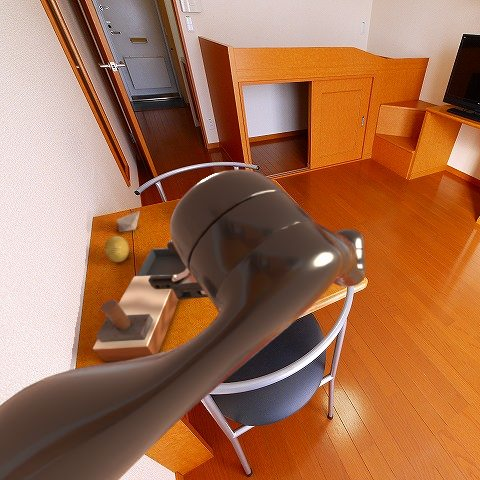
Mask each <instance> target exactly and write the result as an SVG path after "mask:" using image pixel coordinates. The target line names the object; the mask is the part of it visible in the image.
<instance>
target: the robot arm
mask: <svg viewBox="0 0 480 480" xmlns="http://www.w3.org/2000/svg"><path fill="white" fill-rule="evenodd" d="M169 223H170V224H169V234H170V239H171V240H169V241H168V242H167V244H166V248H168V249H169V251H170V252H177V253H178V254H179V256H180V258H181V260H182V262H183V263H184V265H185V266H186V269H185V271H184V272H182V273H180V274H178V275H176V276H173V275H159V276H150V278H149V280H148V281H149V283H150V285H151V286H152V287H153V288H154V289H173V291H174V293H175V295H176V297H177V299H179V300H178V301H181V300H190V299H191V300H192V299H202V298H203V299H204V298H208V299H209V300H210V301H211V303H212V304H213V305H214V306H215V309H216V310H217V312H218V314H217V315H216V317H215V318H214V320H212V322H211V323H210V324H208V326H206V327H205V328H204V329H203V330H202V331H201V332H199V333H198V334H196V335H195V336H194V337H192V338H191V339H189V340H187V341H186V342H184V343H183V344H181V345H178V346H176V347H173V348H172V349H168V350H165V351H161V352H159V353H158V354H154V355H150V356H147V357H142V358H137V359H132V360H125V361H110V362H106V363H99V364H92V365H87V366H81V367H77V368H73V369H69V370H66V371H63V372H58V373H55V374H52V375H50V376H47V377H44V378H41V379H39V380H37V381H36V382H34V383H31V384H30V385H28V386H26V387H24V388H22V389H20V390H19V391H18V392H16V393H15V394H14V395H11V396H10V397H9V398H7V399H6V400H5V401H4V402H2V403H1V404H0V480H120V479H121V478H122V477H123V476H125V475H126V473H127V472H128V471H129V470H130V469H131V468H132V467H133V466H134V465H135V464H137V462H138V461H140V459H142V458H143V456H145V455H146V453H147V452H148V451H149V450H150V449H152V448H153V446H155V444H157V443H158V442H159V441H160V440H161V438H163V437H164V436H165V435H166V434H167V433H168V432H169V431H170V430H171V429H172V428H173V427H174V426H175V425H176V424H177V423H178V422H179V421H181V419H182V418H184V416H186V415H187V414H188V413H189V412H190V411H191V410H192V409H193V408H195V407H196V406H197V405H198V404H199V403H201V401H203V399H205V398H206V397H207V396H208V395H210V394H211V393H212V392H213V391H214V390H215V389H216V388H218V387H219V386H220V385H221V384H223V383H224V382H225V381H226V380H227V379H228V378H229V377H231V376H232V375H233V374H234V373H236V372H237V371H238V370H239V369H241V367H243V366H244V365H245V364H247V362H248V361H250V360H251V359H253V357H254V356H256V355H257V354H258V353H259V352H260V351H262V350H263V349H264V348H265V347H267V346H268V345H269V344H271V343H272V341H274V340H275V339H276V338H277V337H279V336H280V335H281V334H282V333H284V331H285V330H287V329H288V328H289V327H291V325H292V324H293V323H296V321H297V320H298V319H299V318H300V317H302V316H303V315H304V314H305V313H306V312H308V311H309V310H310V309H311V308H312V307H313V306H314V305H315V304H316V303H317V302H318V301H319V300H320V299H321V298H322V297H323V296H324V294H326V292H327V291H328V290H329V289H330V288H331V287H332V285H335V286H339V287H342V288H343V287H346V288H348V287H349V288H350V287H355V286H358V285H359V284H361V283H362V282H363V281H364V279H365V278H366V272H367V271H366V270H367V269H366V268H367V267H366V251H365V248H366V247H365V238H364V235H363V234H362V233H361V232H360V231H359V230H357V229H354V228H349V227H348V228H341V229H337V230H332V229H330V228H328V227H326V226H325V225H322V224H320V223H318V222H317V221H316V220H314V219H313V218H312V217H311V216H310V215H309V214H308V213H307V212H306V210H304V209H303V208H302V206H300V205H299V203H298V202H297V201H296V200H295V199H294V198H292V196H291V195H290V194H289V193H288V192H287V191H286V190H285V189H284V188H283V187H282V186H281V185H279V183H277V182H276V181H274V180H273V179H271V178H270V177H268V176H266V175H265V174H262V173H260V172H257V171H254V170H249V169H230V170H229V169H228V170H224V171H220V172H217V173H214V174H212V175H209V176H208V177H206V178H204V179H202V180H200V181H199V182H197V184H195V185H193V186H192V187H191V188H190V189H188V190H187V192H186V193H185V194H184V195H183V196H182V197H181V199H179V201H178V202H177V204H176V205H175V208H174V210H173V213H172V214H171V217H170V222H169ZM186 278H188V279H187V280H185V281H183V282H182V280H184V279H186ZM184 291H185V292H184Z"/></svg>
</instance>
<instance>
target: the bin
mask: <svg viewBox="0 0 480 480" xmlns="http://www.w3.org/2000/svg"><path fill="white" fill-rule="evenodd" d="M185 269H186V266H185V265H184V263H183V262H182V260H181V258H180V256H179V254H178V253H177V252H170V251H169V249H168V247H160V248H158V247H157V248H151V249H150V251H149V252H148V254H147V256H146V257H145V260H144V261H143V263H142V265H141V266H140V268H139V269H138V272H137V274H136V275H135V276H159V275H178V274H180V273H182V272H184V271H185ZM187 279H188V278H186V279H184V280H182V282H183V281H185V280H187ZM184 292H185V291H184Z"/></svg>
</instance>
